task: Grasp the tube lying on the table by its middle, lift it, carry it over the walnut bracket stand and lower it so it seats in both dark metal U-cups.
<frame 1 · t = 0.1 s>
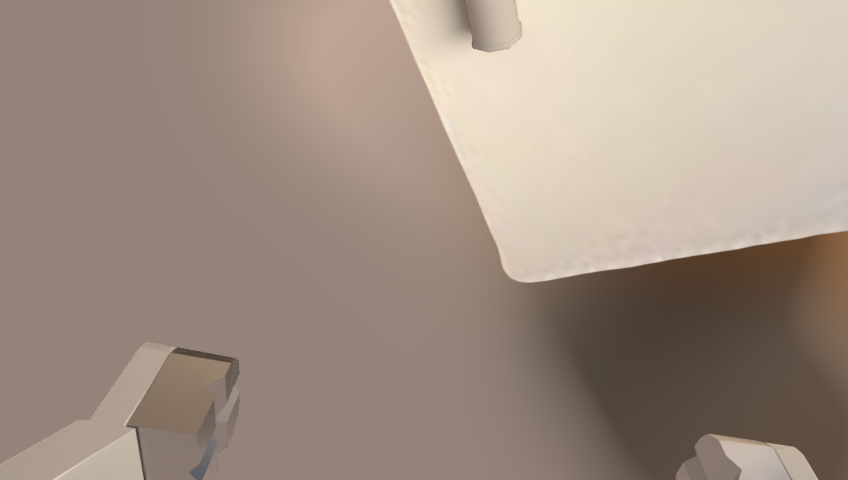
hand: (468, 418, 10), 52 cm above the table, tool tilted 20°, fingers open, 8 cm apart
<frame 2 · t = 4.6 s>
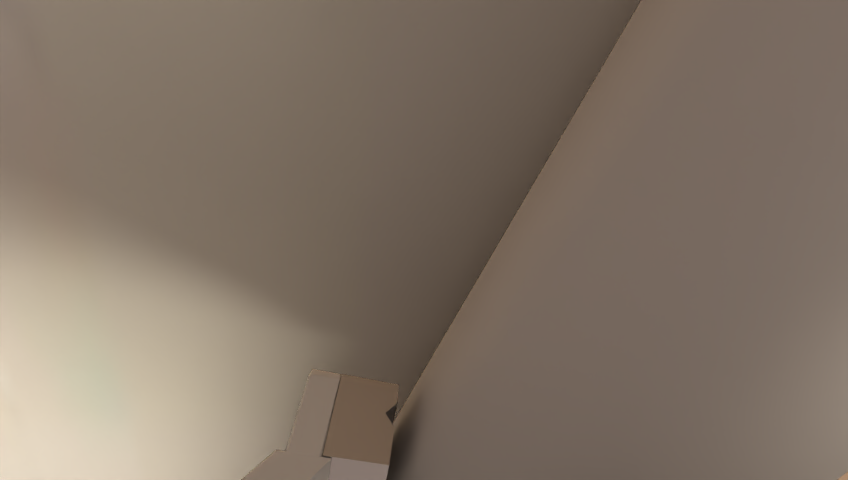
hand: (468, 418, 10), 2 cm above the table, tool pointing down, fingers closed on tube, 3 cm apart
tube: (510, 370, 12), on the table, touching gripper
when the fingers open (8 cm above the table, at t = 8.9 s): tube stays where it is, resting on bracket stand.
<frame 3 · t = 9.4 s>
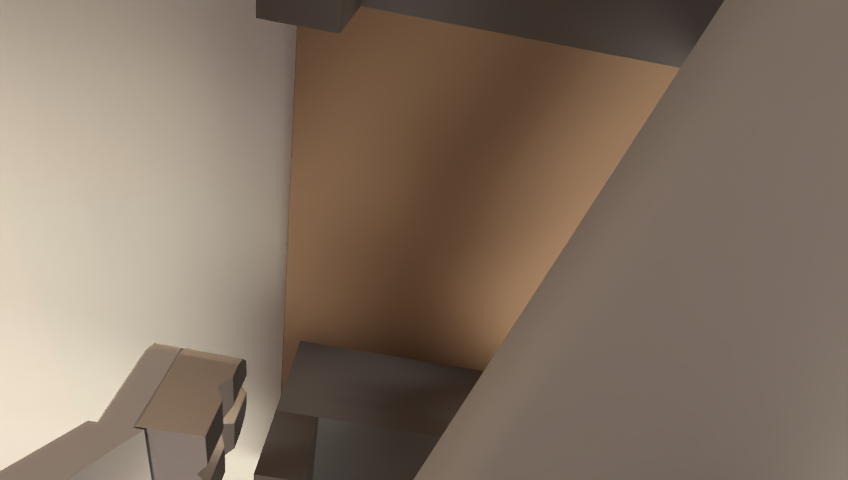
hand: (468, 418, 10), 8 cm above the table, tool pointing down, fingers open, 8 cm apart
tube: (561, 366, 12), point 6 cm above the table, touching bracket stand, gripper
bracket stand: (472, 199, 16), on the table
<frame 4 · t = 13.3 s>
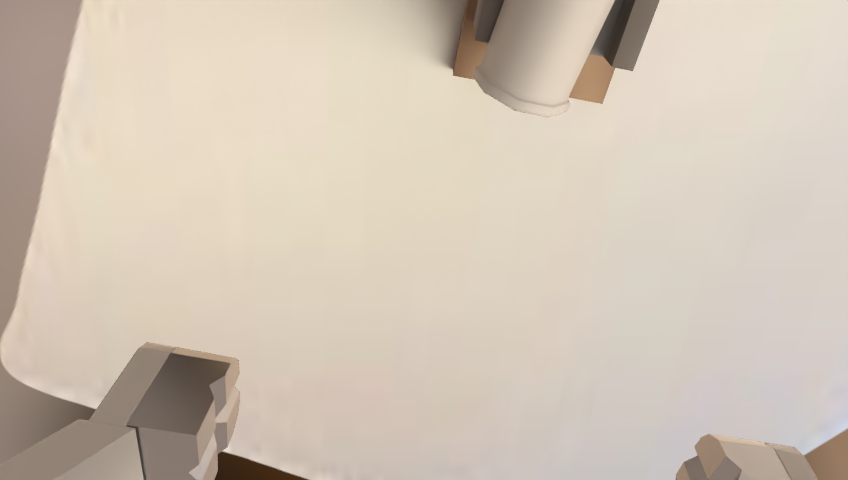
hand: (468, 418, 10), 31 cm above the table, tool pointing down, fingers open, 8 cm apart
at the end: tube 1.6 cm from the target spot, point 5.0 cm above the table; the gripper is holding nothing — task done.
